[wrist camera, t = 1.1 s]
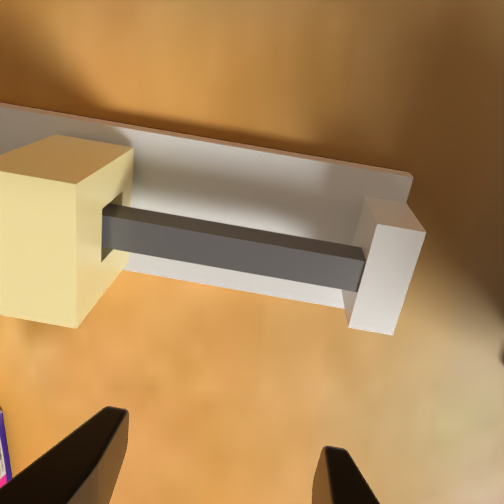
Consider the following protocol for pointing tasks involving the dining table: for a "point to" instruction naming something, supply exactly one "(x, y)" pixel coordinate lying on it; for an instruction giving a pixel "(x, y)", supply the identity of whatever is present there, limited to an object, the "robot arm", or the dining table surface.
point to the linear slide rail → (252, 216)
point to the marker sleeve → (59, 226)
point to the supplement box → (4, 455)
